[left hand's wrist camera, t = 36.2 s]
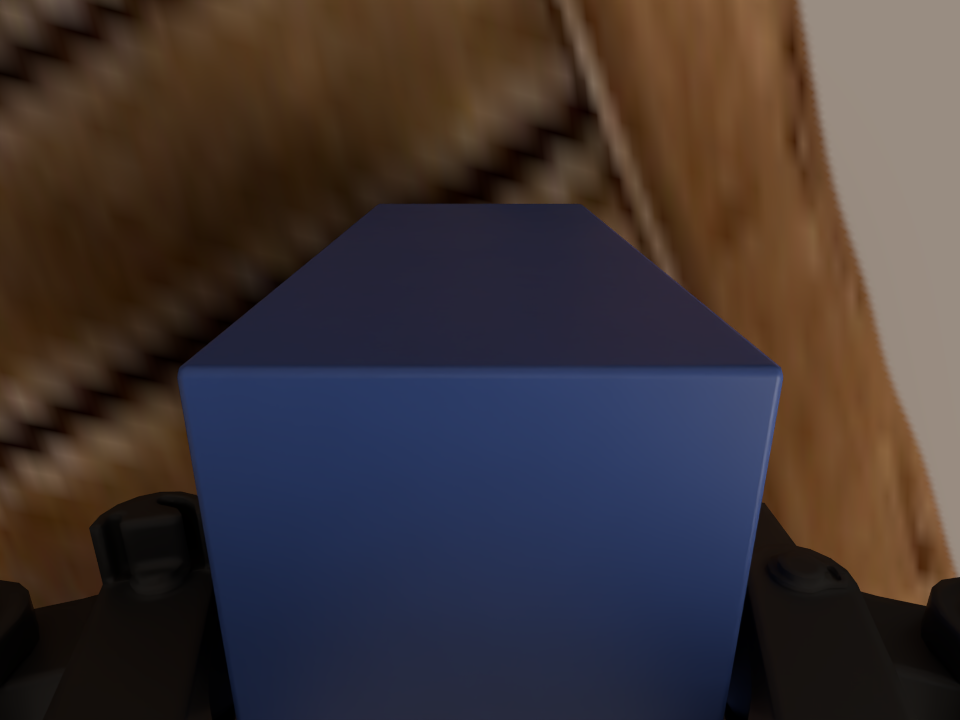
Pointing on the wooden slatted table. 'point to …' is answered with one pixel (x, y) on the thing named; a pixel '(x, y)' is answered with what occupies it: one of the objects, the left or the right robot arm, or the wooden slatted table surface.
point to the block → (480, 476)
